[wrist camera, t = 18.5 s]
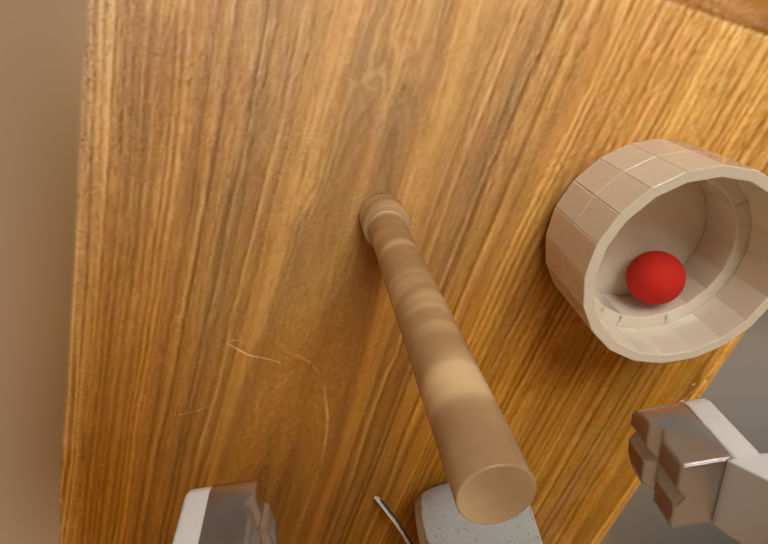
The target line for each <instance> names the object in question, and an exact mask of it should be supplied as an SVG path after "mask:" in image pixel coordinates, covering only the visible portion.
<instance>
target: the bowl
mask: <svg viewBox="0 0 768 544" xmlns="http://www.w3.org/2000/svg"><path fill="white" fill-rule="evenodd" d="M648 251H663V252H667V253H669V254H671V255H673V256H674V257H676V258H677V259H678V260H679V261H680V262H681V264H682V265H683V267H684V269H685V272H686V283H685V286H684V289H683V291H682V292H681V293H680V295H679V296H678V297H676V298H675V299H674V300H672V301H670V302H668V303H665V304H659V305H653V304H648V303H645V302H642V301H640V300H638V299H637V298H636V297H634V296H633V295H632V293H631V292H630V291H629V289H628V287H627V284H626V272H627V268H628V266H629V264H630V263H631V262H632V261H633V260H634V259H635V258H636V257H637V256H639V255H640V254H642V253H645V252H648ZM546 265H547V267H548V270H549V272H550V275H551V278H552V280H553V283H554V285H555V286H556V287H557V289H558V290H559V291H560V292H561V294H562V295H563V296H564V297H565V299H566V300H567V301H568V302H569V304H570V305H571V306H572V307H573V309H574V310H575V311H576V312H577V314H578V315H579V316H580V317H581V319H582V320H583V321H584V322H585V324H586V325H587V326H588V327H589V329H590V330H591V331H592V332H593V333H594V334H595V336H596V337H597V338H598V339H599V340H600V341H601V342H602V343H603V344H604V345H605V346H606V347H607V348H608V349H609V350H611V351H613V352H615V353H617V354H619V355H622V356H624V357H626V358H628V359H631V360H633V361H641V362H652V363H668V362H674V361H679V360H685V359H691V358H695V357H697V356H700V355H702V354H705V353H707V352H709V351H712V350H714V349H716V348H719V347H721V346H723V345H725V344H726V343H728V342H729V341H731V340H732V339H734V338H735V337H736V336H738V335H739V334H741V333H742V332H744V331H745V330H746V329H748V328H749V327H751V326H752V325H753V324H754V323H755V322H756V321H757V320H758V319H759V317H760V316H761V315H762V314H763V313H764V312H765V311H766V310H767V309H768V176H766V175H764V174H763V173H761V172H760V171H758V170H756V169H753V168H751V167H748V166H746V165H743V164H741V163H738V162H736V161H733V160H731V159H728V158H726V157H723V156H720V155H718V154H715V153H713V152H710V151H708V150H705V149H703V148H700V147H698V146H695V145H693V144H690V143H687V142H681V141H675V140H670V139H664V138H661V139H660V138H659V139H653V140H647V141H641V142H635V143H630V144H627V145H625V146H623V147H621V148H619V149H617V150H615V151H613V152H610V153H608V154H606V155H604V156H602V157H600V159H597V160H596V161H595V162H594V163H593V164H592V165H590V166H589V167H588V168H587V169H586V170H585V171H583V172H582V173H581V174H580V175H579V176H578V177H576V178H575V179H574V181H573V182H572V183H571V184H570V186H569V187H568V189H567V190H566V192H565V193H564V195H563V196H562V198H561V199H560V200H559V202H558V203H557V205H556V207H555V209H554V212H553V215H552V218H551V221H550V224H549V227H548V230H547V232H546Z"/></svg>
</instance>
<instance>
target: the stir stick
mask: <svg viewBox="0 0 768 544" xmlns="http://www.w3.org/2000/svg"><path fill="white" fill-rule="evenodd" d="M359 219H360V223H361V227H362V230H363V233H364V236H365V238H366V240H367V241H368V242H369V243H370V244H371V245H372V246H373V247H374V250H375V253H376V256H377V259H378V262H379V266H380V269H381V272H382V275H383V278H384V281H385V284H386V288H387V291H388V294H389V297H390V300H391V303H392V306H393V310H394V313H395V316H396V319H397V322H398V325H399V328H400V332H401V335H402V338H403V341H404V344H405V347H406V350H407V354H408V357H409V360H410V363H411V366H412V369H413V372H414V376H415V379H416V382H417V385H418V388H419V391H420V394H421V398H422V401H423V404H424V407H425V410H426V413H427V416H428V420H429V423H430V426H431V429H432V432H433V435H434V438H435V442H436V445H437V448H438V451H439V454H440V457H441V460H442V464H443V467H444V470H445V473H446V476H447V479H448V482H449V486H450V489H451V492H452V495H453V498H454V501H455V504H456V507H457V510H458V511H459V513H460V514H461V515H462V516H463V517H464V518H465V519H467V520H468V521H471V522H473V523H476V524H483V525H491V524H498V523H502V522H505V521H508V520H510V519H512V518H514V517H516V516H517V515H519V514H520V513H522V512H523V511H524V510H525V509H526V508H527V507H528V506H529V505H530V503H531V502H532V500H533V498H534V496H535V493H536V480H535V477H534V475H533V473H532V471H531V469H530V467H529V465H528V463H527V461H526V459H525V457H524V455H523V453H522V451H521V449H520V447H519V445H518V443H517V441H516V439H515V437H514V435H513V433H512V432H511V430H510V428H509V426H508V424H507V422H506V420H505V418H504V416H503V414H502V412H501V410H500V408H499V406H498V404H497V402H496V400H495V398H494V396H493V394H492V392H491V390H490V388H489V386H488V384H487V382H486V380H485V378H484V376H483V374H482V373H481V371H480V369H479V367H478V365H477V363H476V361H475V359H474V357H473V355H472V353H471V351H470V349H469V347H468V345H467V343H466V341H465V339H464V337H463V335H462V333H461V331H460V329H459V327H458V325H457V323H456V321H455V319H454V317H453V315H452V314H451V312H450V310H449V308H448V306H447V304H446V302H445V300H444V298H443V296H442V294H441V292H440V290H439V288H438V286H437V284H436V282H435V280H434V278H433V276H432V274H431V272H430V270H429V268H428V266H427V264H426V262H425V260H424V258H423V256H422V255H421V253H420V251H419V249H418V247H417V245H416V243H415V241H414V239H413V237H412V235H411V233H410V219H409V217H408V215H407V213H406V211H405V209H404V207H403V205H402V204H401V202H400V201H399V200H398V199H397V198H396V197H394V196H392V195H389V194H377V195H374V196H372V197H370V198H368V199H367V200H366V201H365V202H364V204H363V205H362V207H361V209H360V214H359Z"/></svg>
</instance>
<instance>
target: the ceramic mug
mask: <svg viewBox="0 0 768 544" xmlns="http://www.w3.org/2000/svg"><path fill="white" fill-rule="evenodd" d="M415 520H416V527H417V533H418V538H419V543H420V544H543V543H542V540H541V536H540V533H539V530H538V528H537V525H536V521H535V517H534V514H533V511H532V508H531V506H530V505H529V506H528V507H527V508H526V509H525V510H524V511H523V512H522V513H520V514H519V515H517V516H516V517H514V518H512V519H510V520H508V521H505V522H502V523H498V524H491V525H483V524H476V523H473V522H471V521H468V520H467V519H465V518H464V517H463V516H462V515H461V514H460V513H459V511H458V510H457V507H456V504H455V501H454V498H453V495H452V492H451V489H450V486H449V483H445V484H441V485H438V486H435V487H433V488H431V489H428V490H426V491H424V492H423V493H421V494H420V495H419V496H418V498H417V499H416V502H415Z"/></svg>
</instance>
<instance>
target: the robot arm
mask: <svg viewBox="0 0 768 544" xmlns="http://www.w3.org/2000/svg"><path fill="white" fill-rule="evenodd" d="M631 425H632V426H633V428H634V429H635V431H636V432H635V433H634V434H633V435H632V436H631V437H630V439H629V448H628V451H629V456H630V460H631V464H632V466H633V468H634V471H635V473H636V474H637V476H638V478H639V479H640V481H641V482H642V483H643V484H645V485H646V486H648V487H650V488H651V489H653V490H655V491H654V499H653V501H654V503H655V504H656V505H657V507H658V509H659V510H660V512H661V513H662V515H663V516H664V518H665V519H666V521H667V522H668V524H669V525H670V527H671V528H674V527H680V526H687V525H694V524H700V523H707V522H712V524H713V525H714V526H716V527H717V528H719V529H720V530H721V531H723V532H724V533H726V534H727V535H729V536H730V537H732V538H733V539H734V540H736V541H737V542H739V543H740V544H768V453H763V454H759V452H758V451H757V450H756V449H755V448H754V447H753V446H752V445H751V444H750V443H749V442H748V441H747V440H746V439H745V437H743V435H742V434H741V433H740V432H739V431H738V430H737V429H736V428H735V427H734V426H733V425H732V424H731V423H730V422H729V421H728V420H727V419H726V418H725V417H724V416H723V414H722V413H720V411H719V410H718V409H717V408H716V407H715V406H714V405H713V404H712V403H711V402H710V401H709V400H707V399H704V398H701V399H695V400H690V401H685V402H680V403H673V404H668V405H662V406H657V407H652V408H647V409H641V410H636V411H635V412H634V413H633V415H632V419H631ZM265 493H266V489H265V486H264V484H263V481H262V479H254V480H248V481H241V482H235V483H228V484H222V485H215V486H211V487H204V488H198V489H192V490H189V492H188V493H187V495H186V496H185V499H184V502H183V506H182V510H181V513H180V517H179V521H178V524H177V528H176V532H175V535H174V539H173V543H172V544H276V522H275V517H274V512H273V509H272V506H271V504H270V503H269V502H267V501H265Z"/></svg>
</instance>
